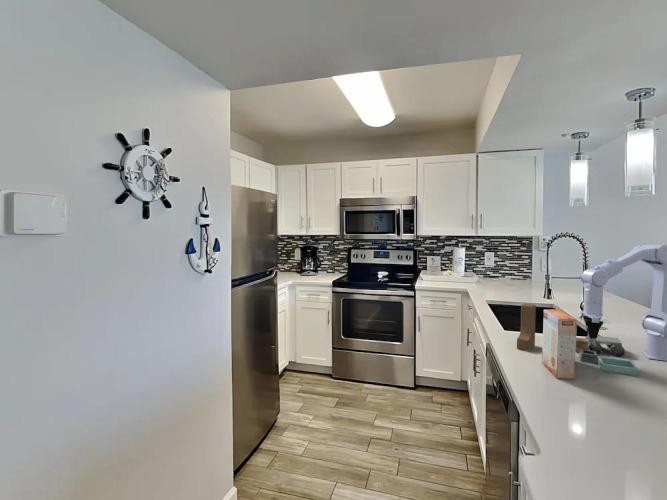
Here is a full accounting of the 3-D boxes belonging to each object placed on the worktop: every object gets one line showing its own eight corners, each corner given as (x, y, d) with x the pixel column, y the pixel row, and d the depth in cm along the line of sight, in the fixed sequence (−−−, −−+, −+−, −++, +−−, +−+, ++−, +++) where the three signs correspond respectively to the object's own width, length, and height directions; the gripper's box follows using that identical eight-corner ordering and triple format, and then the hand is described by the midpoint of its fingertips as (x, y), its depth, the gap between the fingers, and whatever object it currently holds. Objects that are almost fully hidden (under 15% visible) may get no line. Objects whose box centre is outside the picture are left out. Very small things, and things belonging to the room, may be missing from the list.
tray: (631, 367, 126) (631, 360, 126) (637, 376, 119) (638, 369, 119) (597, 362, 131) (597, 356, 131) (601, 370, 124) (601, 364, 124)
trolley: (618, 348, 144) (618, 336, 144) (624, 357, 135) (625, 344, 135) (584, 344, 150) (585, 333, 150) (588, 352, 141) (589, 340, 140)
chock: (587, 350, 143) (587, 338, 143) (588, 354, 140) (589, 341, 140) (572, 348, 146) (572, 337, 145) (573, 352, 142) (574, 340, 142)
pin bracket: (595, 358, 135) (595, 351, 135) (597, 363, 130) (597, 355, 130) (579, 356, 137) (579, 349, 137) (581, 361, 133) (581, 353, 133)
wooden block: (528, 351, 144) (528, 308, 143) (516, 348, 147) (517, 306, 146) (535, 345, 150) (535, 304, 149) (523, 343, 153) (524, 303, 152)
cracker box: (576, 380, 117) (577, 319, 116) (555, 378, 119) (557, 318, 117) (559, 363, 131) (560, 309, 129) (541, 362, 132) (542, 308, 131)
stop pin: (596, 344, 133) (597, 326, 133) (598, 347, 130) (598, 328, 129) (585, 343, 135) (585, 324, 134) (586, 346, 132) (587, 327, 131)
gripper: (577, 296, 139) (576, 330, 140) (582, 304, 127) (581, 340, 128) (599, 298, 136) (598, 332, 137) (607, 306, 123) (605, 343, 124)
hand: (591, 336), depth 132 cm, fingers closed on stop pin, 3 cm apart
